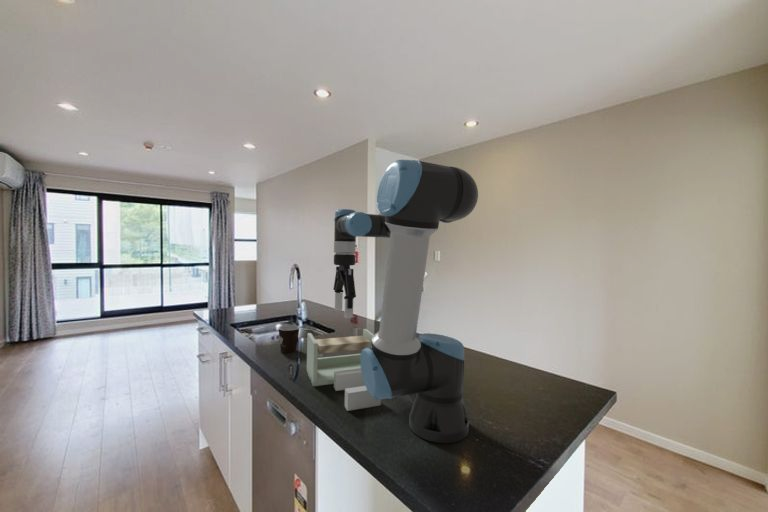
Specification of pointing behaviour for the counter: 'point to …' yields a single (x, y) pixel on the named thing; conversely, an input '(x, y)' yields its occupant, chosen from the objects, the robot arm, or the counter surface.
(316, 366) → the shelf unit
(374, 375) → the robot arm
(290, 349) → the coffee mug
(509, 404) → the counter surface
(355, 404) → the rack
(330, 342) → the stacked rolled towels
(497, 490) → the counter surface
